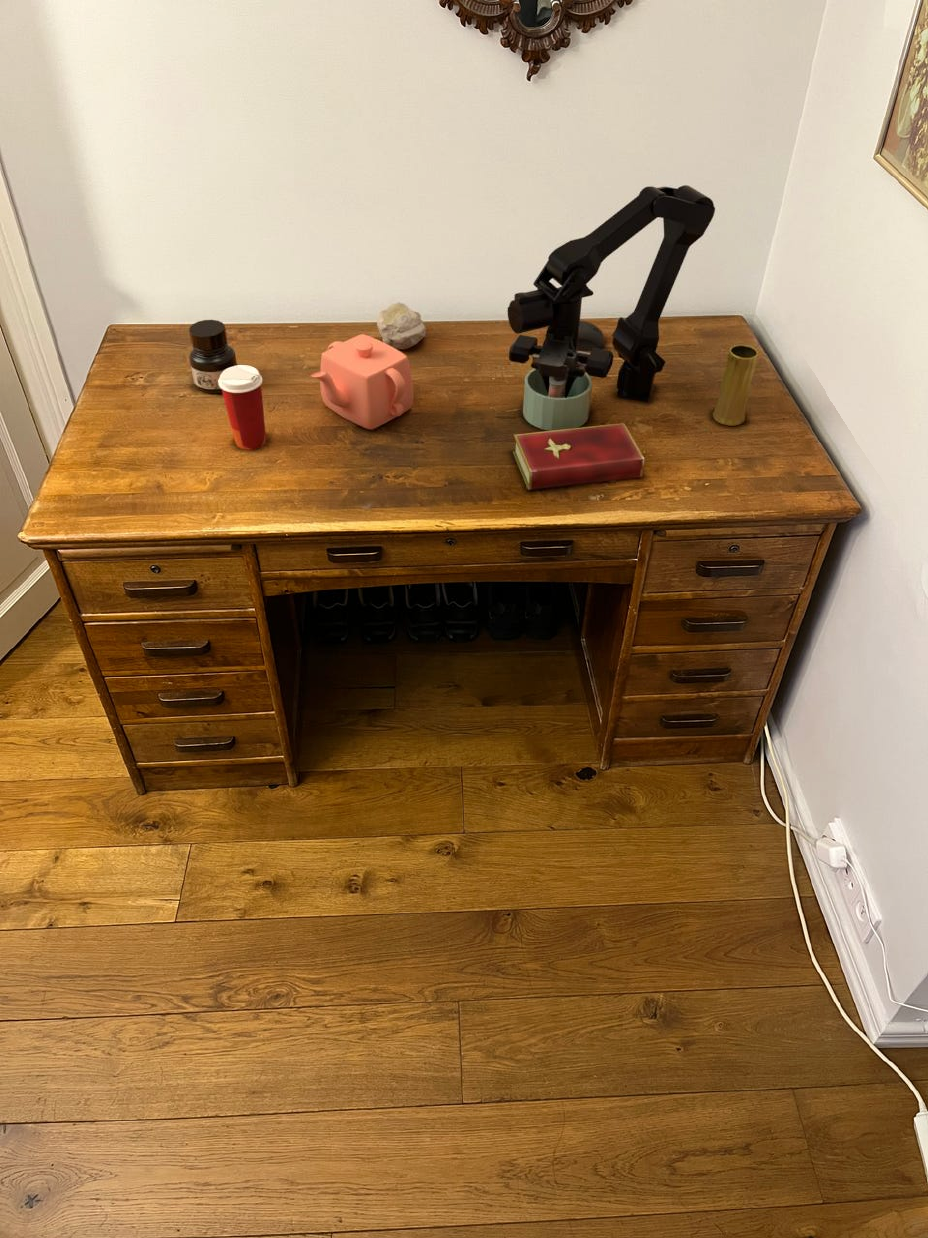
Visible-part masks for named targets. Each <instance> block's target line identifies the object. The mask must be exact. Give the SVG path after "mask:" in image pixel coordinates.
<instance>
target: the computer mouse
mask: <svg viewBox="0 0 928 1238" xmlns="http://www.w3.org/2000/svg"><path fill="white" fill-rule="evenodd" d="M604 347H605V337H604V333H603V331H602V330H601V329H600V328H599V327H598V326H597V325H595V324H594V323H592V322H588V321H584V320H580V326H579V335H578V347H577V351H592V349H593V348H597V349H603V348H604Z"/></svg>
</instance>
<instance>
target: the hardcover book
mask: <svg viewBox="0 0 928 1238" xmlns="http://www.w3.org/2000/svg"><path fill="white" fill-rule="evenodd" d="M513 438H514V441H515V450H513V451H512V454H513V456H514V459H515V462H516V463H517V466H518V468H519V471H520V473H521V476H522V479H523V481H524V483H525V486H526V488H527V490H528V491H532V490H540V489H548V488H549V489H550V488H557V487H566V486H575V485H584V484H591V483H602V482H609V481H619V480H627V479H634V478H636V479H637V478H642V477H643V474H644V470H645V463H646V460H645V457H644V455H643V453H642V451H641V450H640V448H639V447H638V445H637V443H636V441H635V439H634V438H633V436H632V434H631V432H630V431H629V429H628V427H627V425H626V424H625V422H621V423H620V422H619V423H611V424H610V423H609V424H601V425H591V426H580V427H578V428H572V429H563V430H553V431H548V430H543V431H536V432H527V433H526V432H525V433H518V434H513Z"/></svg>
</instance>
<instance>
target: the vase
mask: <svg viewBox="0 0 928 1238" xmlns="http://www.w3.org/2000/svg"><path fill="white" fill-rule="evenodd" d="M758 357H759V351H758V349H757V348H756V347H754V346H751V345H749V344H735V345H732V346H730V348H729V351H728V354H727V359H726V363H725V367H724V371H723V376H722V379H721V384H720V388H719V393H718V397H717V401H716V403H715V408H714V410H713V412H712V417H713V419H714V421H716V422H717V423H718V424H721V425H723V426H729V427H735V426H739V425H741V424H743V423H744V422H745V420H746V410H747V405H748V401H749V397H750V391H751V387H752V381H753V377H754V374H755V370H756V366H757V362H758Z"/></svg>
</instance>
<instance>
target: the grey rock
mask: <svg viewBox="0 0 928 1238" xmlns="http://www.w3.org/2000/svg"><path fill="white" fill-rule="evenodd" d="M376 315H377V321H376V327H377V329H378V331H379V332H378V333H379V335H380V336H381V338H382V342H383V343H386V344H387V345H389V346H391V347H393V348H395V349H397V350H407V349H409V348H411V347H413V346H415V345H417V344H418V343H419V342H420V341H421V340H423V338H425V337H426V331H427V327H426V326H425V324H424V322H423V320H422V316H421V314H420V312H418V311H415V310H413V309H411V308H410V307H409V306H408V305H407V304H405V303H404V302H400V301H397V302H396V303H393V304H391V305H390V306H388V307H387V308H385V309H384V310H381V311H380V312H378V313H377V314H376Z"/></svg>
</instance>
